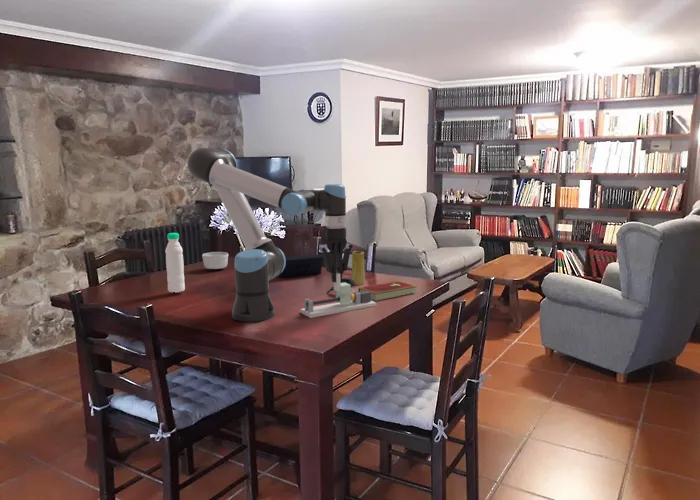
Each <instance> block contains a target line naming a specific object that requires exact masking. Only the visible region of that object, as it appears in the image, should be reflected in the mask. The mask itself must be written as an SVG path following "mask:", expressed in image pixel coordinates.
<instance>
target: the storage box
mask: <svg viewBox="0 0 700 500" xmlns="http://www.w3.org/2000/svg"><path fill="white" fill-rule="evenodd" d="M285 259H286V264H285V268H284V270H283V271H282V272H281V273H280V274H279V275H278V276H277V277H279V278H280V279H281V278H289V277H300V276H308V275H318V274H319V275H320V274H322V269H323V268H322V267H323V264H324V259H323V255H322V253H321V254H309V255H300V256H299V255H297V256H287V257H286V256H285Z"/></svg>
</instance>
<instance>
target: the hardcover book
mask: <svg viewBox="0 0 700 500" xmlns="http://www.w3.org/2000/svg"><path fill="white" fill-rule="evenodd" d="M416 288H418V286H417V285H414V284H411V283H408V282H407V283H406V282H405V281H400V280H397V281H392V282H384V283H380V284H379V283H378V284H373V285H366V286H360V287H358V289H357V290H358V292H362V291H368V292H371V301H374V302H375V301H376V302H377V301H382V300H386V299H392V298H397V297H401V295H402V296H406V294H407V295H412V294H415V293H416ZM411 293H412V294H411Z"/></svg>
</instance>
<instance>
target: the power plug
mask: <svg viewBox="0 0 700 500" xmlns="http://www.w3.org/2000/svg"><path fill="white" fill-rule="evenodd" d="M340 282H341V283H344V282H345V283H348V284H350V285H351V294H352V292H355V291H356V290H355V289H354V288H353V286H356V285H355V282H354V281H353V280H352V277H351V278H350V277H342V281H340ZM331 291H335V290H334V285H333V286H332V287H330V289H329V290H328V291H326V293H327V294H329V293H331Z"/></svg>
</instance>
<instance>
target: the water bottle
mask: <svg viewBox="0 0 700 500" xmlns="http://www.w3.org/2000/svg"><path fill="white" fill-rule="evenodd" d="M179 239H180V234H179V233H178V232H169V233H167V241H168V243H167V245H166V248H165V250H164V252H165V265H166V266H165V267H166V274H167V275H166V280H167V291H168V292H170V293H173V292H175V293H181V291H182V292H184V291H185V290H186V289H185V288H186V286H185V285H186V284H185V275H184V274H185V272H184V271H185V268H184V267H185V266H184V255H183V247H182V246H181V243H180V242H179Z"/></svg>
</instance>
